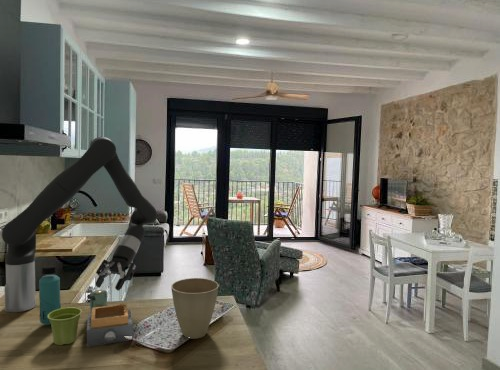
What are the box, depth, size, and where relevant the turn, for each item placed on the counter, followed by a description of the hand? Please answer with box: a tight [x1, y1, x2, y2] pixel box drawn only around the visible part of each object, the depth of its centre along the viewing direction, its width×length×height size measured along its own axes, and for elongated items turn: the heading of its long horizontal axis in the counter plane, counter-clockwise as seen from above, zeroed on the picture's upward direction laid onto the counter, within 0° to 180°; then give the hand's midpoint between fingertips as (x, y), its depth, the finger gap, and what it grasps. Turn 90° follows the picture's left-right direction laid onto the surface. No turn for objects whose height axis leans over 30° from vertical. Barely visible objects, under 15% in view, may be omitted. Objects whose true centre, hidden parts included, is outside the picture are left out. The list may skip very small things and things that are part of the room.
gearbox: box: [86, 303, 134, 348], centre depth 121 cm, size 13×14×8 cm
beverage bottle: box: [38, 264, 62, 325], centre depth 128 cm, size 6×7×20 cm
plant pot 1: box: [48, 306, 83, 346], centre depth 117 cm, size 9×9×9 cm
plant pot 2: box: [170, 277, 220, 340], centre depth 123 cm, size 15×15×16 cm
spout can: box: [86, 289, 108, 315], centre depth 133 cm, size 8×6×10 cm
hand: (107, 288), depth 138 cm, fingers open, 8 cm apart
